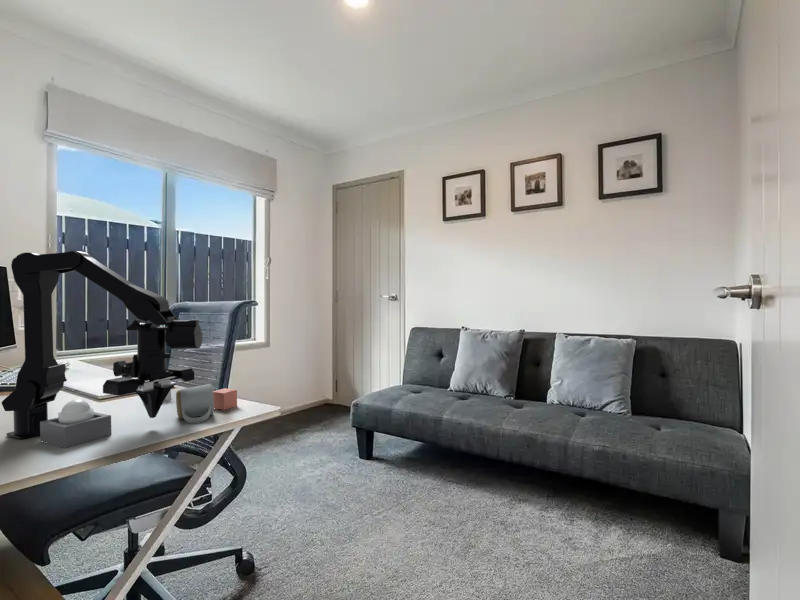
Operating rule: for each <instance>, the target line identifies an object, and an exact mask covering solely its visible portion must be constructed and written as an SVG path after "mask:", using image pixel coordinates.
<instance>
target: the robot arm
mask: <svg viewBox="0 0 800 600" xmlns="http://www.w3.org/2000/svg"><path fill="white" fill-rule="evenodd" d="M10 269H11V272H12V275H13V280H14V283H15V284H16V285H17V287H18V289H19V290H20V292H21V294H22V301H23V302H22V303H23V305H22V307H23V330H24V331H23V333H24V337H23V338H24V361H23V363H22V365H21V367H20V369H19V371H18V373H17V376H16V381H15V389H14V390H13V391H12V392H11V393H10V394H8V395H7V396H6V397H5V398H4V399H3V400H2V401H1V406H2V408H3V410H4V411H5V412H13V431H10V432H6V435H5V436H7V437H10V436H11V437H10V438H14V437H15V439H18V438H19V439H18V440H23V439H29V438H32V436H33V437H35V436H36V435H37V436H39V435H40V422H41V421H45V420H49V416H48V415H49V413H48V411H49V410H48V404H49V403H50V402H53V401H55V399H56V397H57V395H58V393H59V392H60V391H61V390H62V389H64V384H65V382H67V381H68V379H67V377H66V370H67V369H66V363H61V364H59V363H58V362H57V360H56V359H55V357H54V335H53V331H54V330H53V328H54V327H53V304H52V303H53V301H52V298H53V297H52V296H53V292H54V290H55V288H56V287H57V285H58V282H59V278H60V274H67V273H71V272H77V274H78V273H79V274H80V275H81V276H82V277H85V278H86V279H88V280H90V281H91V282H92V283H94V284H96V285H97V286H98V287H100V288H102V289H103V290H104V291H106V292H108V293H110V294H111V295H113V296H114V297H115V298H117V299H118V300H120V301H121V302H122V304H123V305H124V306H125V308H126V310H128V311H129V312H130V313H131V314H132V315H134V316H135V317H136V318H137V319H134V320H133V322H132V323H131V324H130V325H128V326H126V328H125V329H126V331H137V332H136V333H137V334H136V335H137V336H136V337H137V341H136V344H137V347H136V348H137V353H136V354H133V357H132V361H131V362H127V361H126V360H119V361H115V362H113V367H112V373H113V375H114V378H111V379H106V380H105V382H104V383H103V384H102V394H107V395H113V396H126V395H129V394H136V395H137V396H139V398H140V400H141V401H142V403H143V406H144V408H145V410H146V413H147V415H148V417H149V419H153V418H156V417H157V415H158V414H159V411H160V409H161V407H162V405H163V403H164V402H165V401H166V400H165V398H166V396H167V395H168V393H169V391H170V390H171V391H172V389H174V388H175V384H171V385H170V380H171V381H174V380H179V379H180V380H181V381H182V382H191V381H195V380H196V379H195V376H196V375H195V374H196V372H195V371H194V369H193V368H192V367H183V366H182V367H181V366H178V367H172V368H167V359H170V358H171V353H169V352H168V353H167V346H168V347H170V348H171V349H172V350H198V349H201V346H202V343H203V332H202V328H201V325H200V320H199V319H190V320H189V319H188V320H180V319H178V317H177V315H175V314H174V312H173V311H172V310H171V308H170V304H169V303H170V301H169V300H168V299H167V298H166V297H165V296H163V295H160V294H158V293H156V292H153V291H151V290H149V289H146V288H142V287H140V286H138V285H135V284H134V283H132V282H130V281H129V280H128V279H126V278H124V277H123V276H121V275H120V274H118V273H117V272H115V271H113V270H112V269H111V268H109V267H107V266H106V265H104V264H103V263H101V262H99V261H98V260H96V258H94V257H92V256H91V255H90V254H89V253H87V252H84V251H78V250H69V251H65V252H56V253H43V254H42V253H40V254H39V253H34V252H21V253H20V254H17V255H16V256H15V257H14V258H12V260H11V265H10ZM144 321H147V322H144ZM148 321H149V322H148ZM115 377H116V378H115ZM28 437H29V438H28Z"/></svg>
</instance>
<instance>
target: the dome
mask: <svg viewBox="0 0 800 600" xmlns="http://www.w3.org/2000/svg"><path fill="white" fill-rule="evenodd" d="M57 418H58V421H59V423H61V424H66V425H69V424H73V423H77V422H81V421H85V420H89V419H93V418H94V408H93V407H91V406H90V404H89V402H87V401H86V400H83V399H80V398H79V399H72V400H70V401H68V402H67V403H66V404H64V406H63V407H62V408H61V411H60V412H58V417H57Z"/></svg>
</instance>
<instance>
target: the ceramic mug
mask: <svg viewBox="0 0 800 600" xmlns="http://www.w3.org/2000/svg"><path fill="white" fill-rule="evenodd" d="M212 391H213V388H212V384H211V383H207V384H202V385H197V386H192V387H187V388H186V387H185V388H182V389H179V390H177V391H176V393H175V403H176V414H177V417H178V418H179V419H184V421H185V422H187V423H190V424H198V423H199V422H200V423H202V422H205V421H206V420H208V419H209V417H210V416H211V415H212V416H213V415H214V414H215V413H214V411H215V409H214V399H213V392H212ZM199 416H200V417H199Z"/></svg>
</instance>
